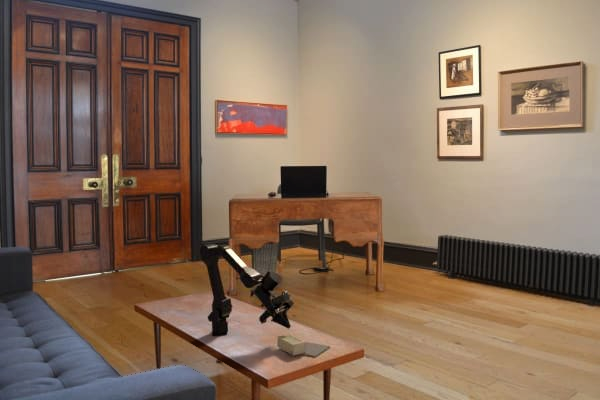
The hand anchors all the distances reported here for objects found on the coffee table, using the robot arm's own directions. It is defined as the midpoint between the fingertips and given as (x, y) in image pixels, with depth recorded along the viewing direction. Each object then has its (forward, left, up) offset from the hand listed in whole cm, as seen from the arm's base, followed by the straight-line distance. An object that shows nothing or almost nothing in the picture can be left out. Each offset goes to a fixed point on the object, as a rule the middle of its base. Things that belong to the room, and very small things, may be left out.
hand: (289, 327), depth 221 cm
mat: (+6, -5, -8) cm, 11 cm away
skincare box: (-3, 0, -5) cm, 6 cm away
